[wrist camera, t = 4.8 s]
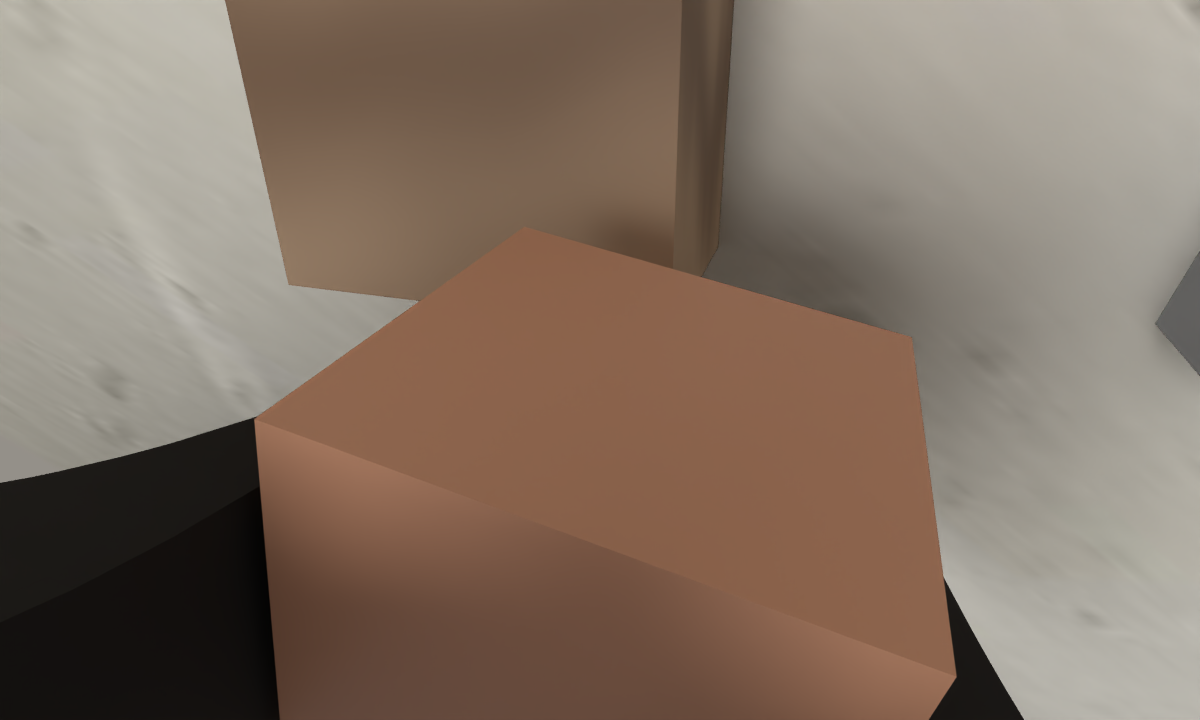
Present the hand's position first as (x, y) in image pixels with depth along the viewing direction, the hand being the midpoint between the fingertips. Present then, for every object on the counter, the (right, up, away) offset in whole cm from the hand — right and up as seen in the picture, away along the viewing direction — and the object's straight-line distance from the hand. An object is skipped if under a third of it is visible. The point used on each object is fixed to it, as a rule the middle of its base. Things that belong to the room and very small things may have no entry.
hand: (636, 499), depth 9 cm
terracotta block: (+1, +1, +1) cm, 1 cm away
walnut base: (-1, +9, +7) cm, 11 cm away
